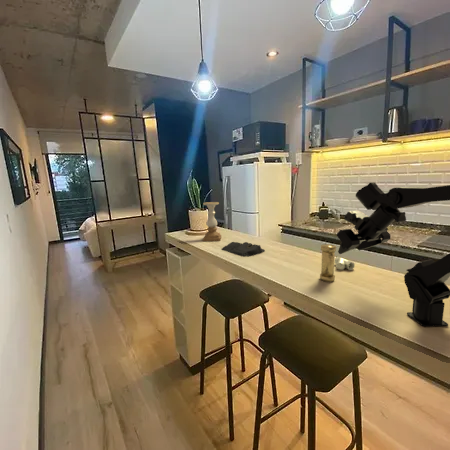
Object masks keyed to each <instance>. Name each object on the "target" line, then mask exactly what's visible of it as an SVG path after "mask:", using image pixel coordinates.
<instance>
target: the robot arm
mask: <svg viewBox="0 0 450 450" xmlns="http://www.w3.org/2000/svg"><path fill="white" fill-rule="evenodd" d="M355 198H356V199H357V200H358V201H359V202H360V203H361V204H362V205H363V207H364V208H365V209H366V210H368V211H371V210H372V211H373V212H372V213H371V214H370V215H367V214H366V213H364V212H362V211H361V210H349V211H347V212H346V213H345V214H344V220H345V221H346V222H348V223H350V224H352V225H353V228H354V229H355V230H356V231H357V233H355V232H354V231H353V230H352V229H351V228H343V229H339V230H338V232H336V237H337V238H338V240H339V241H340V245H339V247H338V251H337V253H338V254H339V255H341V254H344V253H347V252H350V251H353V250H355V249H356V248H357V250H358V251H362V250H366V249H369V248H373V247H374V246H375V247H376V246H378V245H382V244H384V243H388V241H390V240H391V234H390V232H388V230H389V228H388V227H390V226H391V224H392V223H394V222H396V223H401V222H407V216H406V212H405V211H401V210H399V209H406V208H412V207H417V206H421V205H425V204H428V203H432V202H443V201H445V202H446V201H447V202H448V201H450V184H447V185H440V186H432V187H426V186H425V187H423V186H422V187H421V186H402V187H393V188H390V189H389V190H388V192H384V191H383V190H382V189H381V188H380V187H379V186H378V184H377V183H376V182H369V183H368V184H367V185H364V186H363V187H361V188H360V189H358V191H356V193H355ZM403 278H404V280H403V281H404V285H405V286H406V289H407V293H408V297H409V298H410V299H411V300H413V301H412V308H411V309H412V310H411V311H410V312H409V311H408V312H406V315H408V316H409V318H411V319H412V320H414V321H416V322H417V323H418V324H419V325H421V326H422V327H424V328H425V327H448V326H449V323H448V322H447V321H445V320H443V319H444V310H445V302H444V300H447V299H449V298H450V288H449V287H448V285H447V284H446V282H447V280H448V279H449V278H450V252H449V253H447V254H446V255H444V256H443V257H441V258H439V259H438V260H437V261H435V260H434V259H433V258H432V259H431V258H430V259H427V260H422V261H419V262H417V263H416V264H415V265H414V266H413V267H411V268H408V269H406V273H405V274H404V276H403Z"/></svg>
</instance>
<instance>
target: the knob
mask: <svg viewBox="0 0 450 450" xmlns="http://www.w3.org/2000/svg"><path fill="white" fill-rule="evenodd" d="M320 251H321V263H320V265H321V269H320V274H319V280H320V281H321V282H325V283H332V282H333V283H334V282H335V281H336V275H335V254H336V253H335V252H337V245H335V244H320Z"/></svg>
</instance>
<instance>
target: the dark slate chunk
mask: <svg viewBox="0 0 450 450" xmlns="http://www.w3.org/2000/svg"><path fill="white" fill-rule="evenodd" d="M221 250H222V251H224V252H227V253H231V254H234V255H237V256H240V257H252V256H257V255H260V254H262V253H264V252H265V251H266V250H265V249H264V248H262V247H261V245H260V244H255V243H253V244H252V243H249V242H247V241H245V242H243V243H242V242H237V241H231V242H230V243H227V244H226V245H225V246H222V248H221Z"/></svg>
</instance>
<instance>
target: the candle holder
mask: <svg viewBox="0 0 450 450" xmlns="http://www.w3.org/2000/svg"><path fill="white" fill-rule="evenodd" d="M219 204H220V202H219V201H210V202H209V201H208V202H203V206H206V207H207V209H208V211H207V214H208V219H207V220H206V226H207V232H205V234H204V236H203V239H202V241H203V242H220V241H221V240H222V234H221V233H220V232H218V231H217V230H218V228H217V226H218V221H217V219H216V218H215V214H216V211H215V208H216V206H217V205H219Z"/></svg>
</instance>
